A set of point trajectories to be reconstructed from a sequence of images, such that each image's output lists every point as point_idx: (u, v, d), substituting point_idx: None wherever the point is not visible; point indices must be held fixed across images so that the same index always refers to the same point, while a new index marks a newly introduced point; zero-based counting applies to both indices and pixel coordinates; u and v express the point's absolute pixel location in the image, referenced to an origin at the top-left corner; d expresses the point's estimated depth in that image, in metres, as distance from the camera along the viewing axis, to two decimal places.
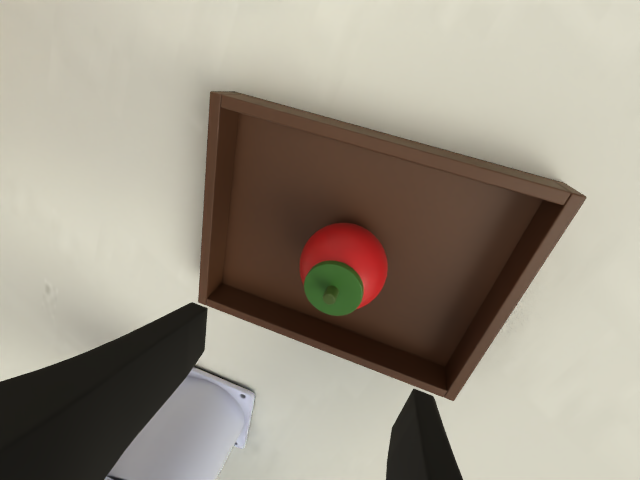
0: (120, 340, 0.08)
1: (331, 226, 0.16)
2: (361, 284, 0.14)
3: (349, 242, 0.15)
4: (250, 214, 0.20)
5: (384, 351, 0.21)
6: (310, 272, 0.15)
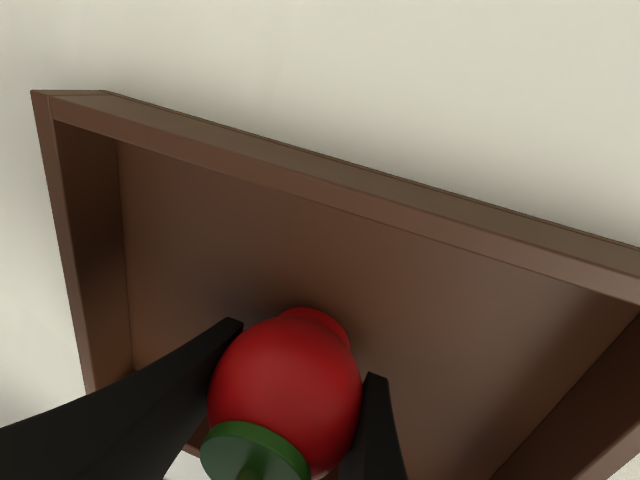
0: (165, 359, 0.08)
1: (261, 332, 0.09)
2: (303, 475, 0.07)
3: (285, 378, 0.08)
4: (156, 282, 0.13)
5: None
6: (206, 442, 0.08)
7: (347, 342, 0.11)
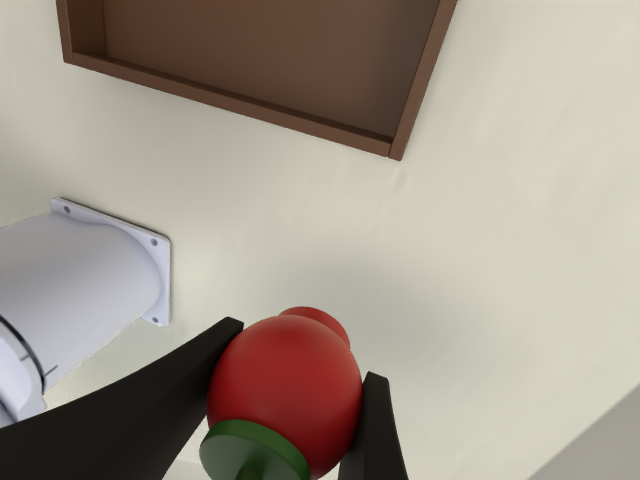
0: (165, 359, 0.08)
1: (261, 331, 0.09)
2: (303, 473, 0.07)
3: (285, 376, 0.08)
4: None
5: (311, 116, 0.15)
6: (206, 441, 0.08)
7: (347, 341, 0.11)
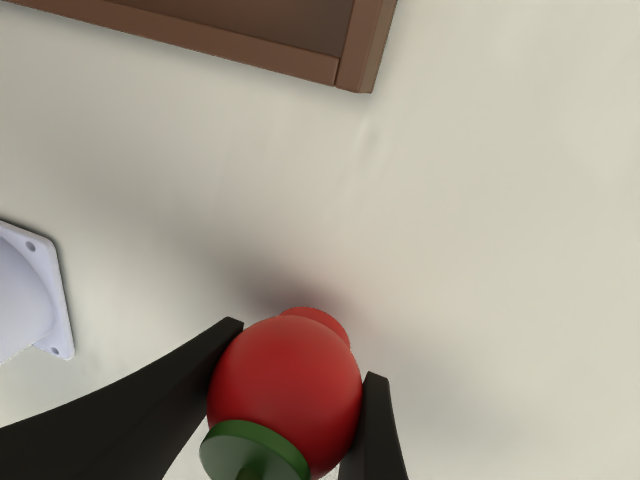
0: (166, 359, 0.08)
1: (261, 331, 0.09)
2: (303, 474, 0.07)
3: (285, 377, 0.08)
4: None
5: None
6: (206, 441, 0.08)
7: (347, 341, 0.11)
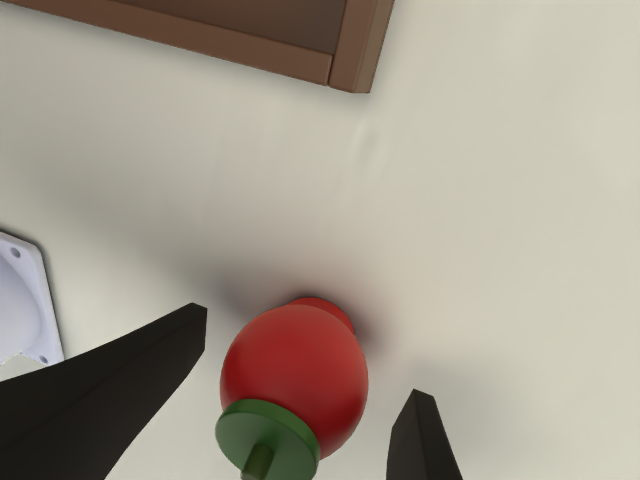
0: (120, 340, 0.08)
1: (271, 318, 0.09)
2: (313, 449, 0.08)
3: (295, 359, 0.08)
4: None
5: None
6: (222, 419, 0.08)
7: (352, 330, 0.12)
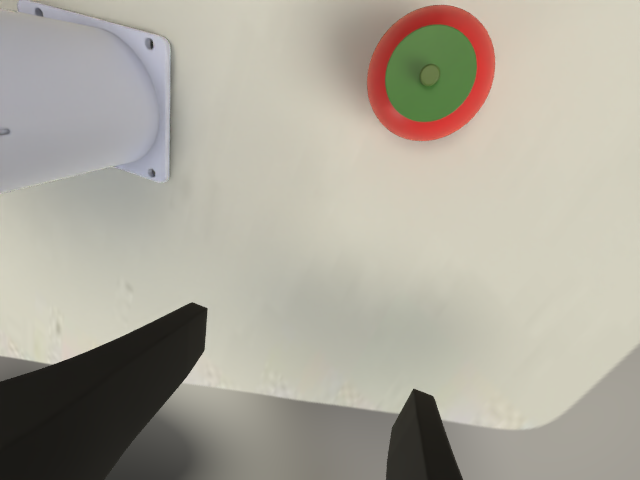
0: (120, 340, 0.08)
1: None
2: (475, 57, 0.10)
3: (451, 10, 0.10)
4: None
5: None
6: (398, 46, 0.10)
7: None
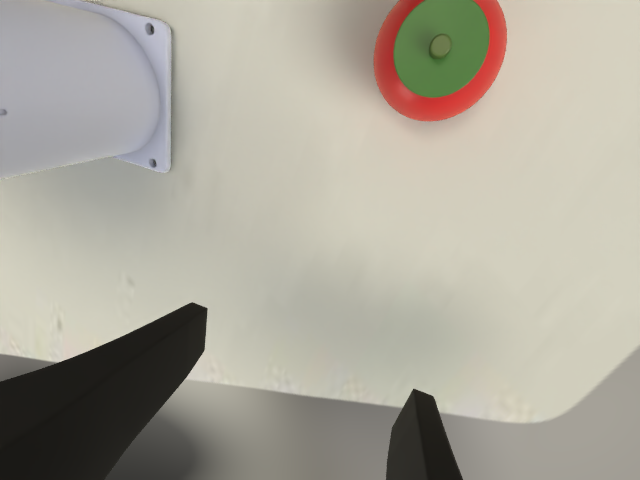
0: (120, 340, 0.08)
1: None
2: (488, 27, 0.09)
3: None
4: None
5: None
6: (407, 18, 0.10)
7: None
